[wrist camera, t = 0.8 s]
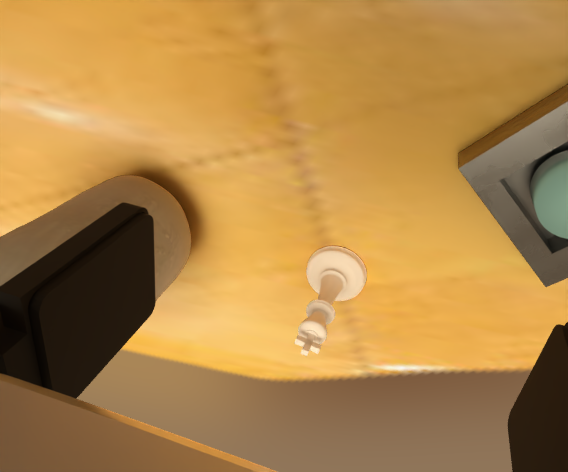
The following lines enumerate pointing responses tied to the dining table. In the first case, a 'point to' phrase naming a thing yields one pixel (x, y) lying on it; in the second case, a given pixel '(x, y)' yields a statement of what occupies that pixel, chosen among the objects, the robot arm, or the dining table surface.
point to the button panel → (522, 180)
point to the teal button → (552, 194)
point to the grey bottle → (88, 208)
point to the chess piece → (329, 291)
